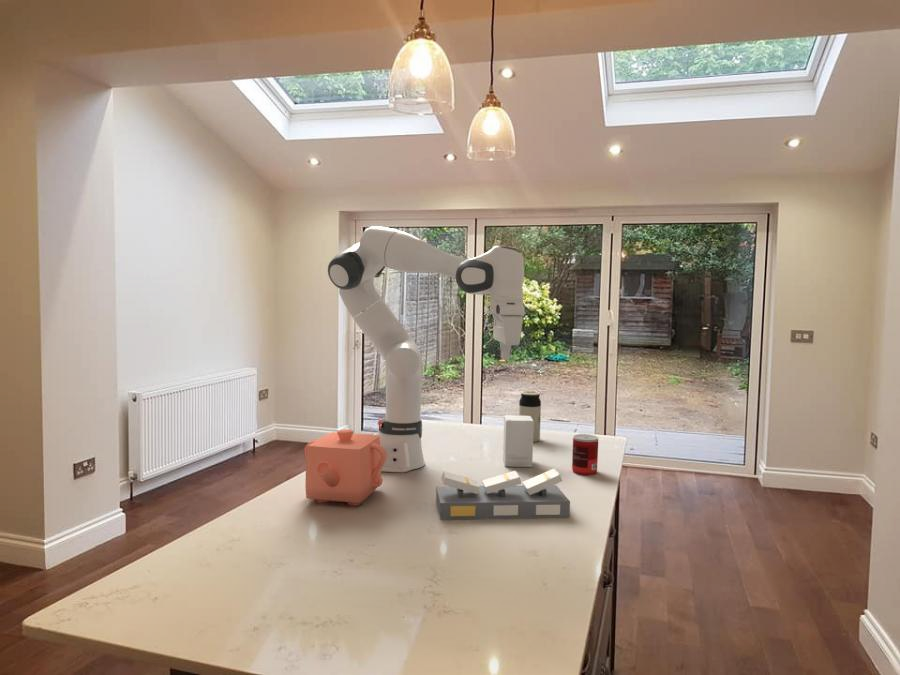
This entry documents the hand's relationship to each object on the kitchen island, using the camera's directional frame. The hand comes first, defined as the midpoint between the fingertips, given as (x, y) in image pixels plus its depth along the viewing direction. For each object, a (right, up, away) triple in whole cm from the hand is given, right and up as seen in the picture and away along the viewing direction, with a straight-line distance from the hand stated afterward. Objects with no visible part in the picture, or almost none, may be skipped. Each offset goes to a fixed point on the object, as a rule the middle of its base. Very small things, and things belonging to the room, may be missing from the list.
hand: (505, 359), depth 168 cm
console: (-2, -38, -7) cm, 38 cm away
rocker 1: (-12, -31, -9) cm, 34 cm away
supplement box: (+7, -35, +36) cm, 50 cm away
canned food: (+27, -36, +28) cm, 53 cm away
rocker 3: (+9, -31, -7) cm, 33 cm away
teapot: (-43, -37, -3) cm, 57 cm away
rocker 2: (-2, -31, -8) cm, 32 cm away
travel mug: (+15, -33, +68) cm, 77 cm away
